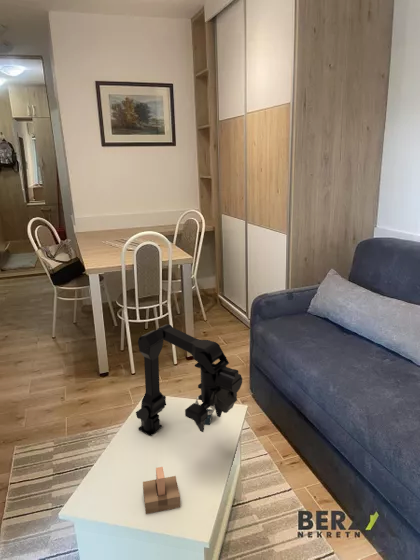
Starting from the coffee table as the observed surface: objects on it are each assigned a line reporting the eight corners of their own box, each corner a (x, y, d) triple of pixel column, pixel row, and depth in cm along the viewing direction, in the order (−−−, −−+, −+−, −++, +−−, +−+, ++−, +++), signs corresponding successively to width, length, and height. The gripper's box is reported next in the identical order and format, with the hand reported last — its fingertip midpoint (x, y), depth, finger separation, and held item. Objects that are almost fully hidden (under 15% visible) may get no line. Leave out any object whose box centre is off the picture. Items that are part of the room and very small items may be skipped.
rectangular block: (157, 494, 123) (155, 467, 120) (163, 493, 124) (162, 466, 121) (158, 506, 119) (157, 479, 116) (165, 505, 120) (164, 477, 117)
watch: (215, 425, 154) (215, 400, 150) (194, 423, 155) (193, 398, 152) (217, 416, 159) (217, 392, 156) (197, 414, 160) (196, 390, 157)
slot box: (143, 492, 124) (142, 481, 123) (175, 486, 126) (175, 475, 125) (145, 514, 117) (145, 503, 116) (180, 507, 119) (180, 496, 118)
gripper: (213, 404, 116) (213, 450, 120) (247, 376, 130) (246, 418, 135) (183, 392, 122) (184, 435, 127) (219, 366, 136) (219, 406, 141)
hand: (210, 424), depth 132 cm, fingers open, 9 cm apart
